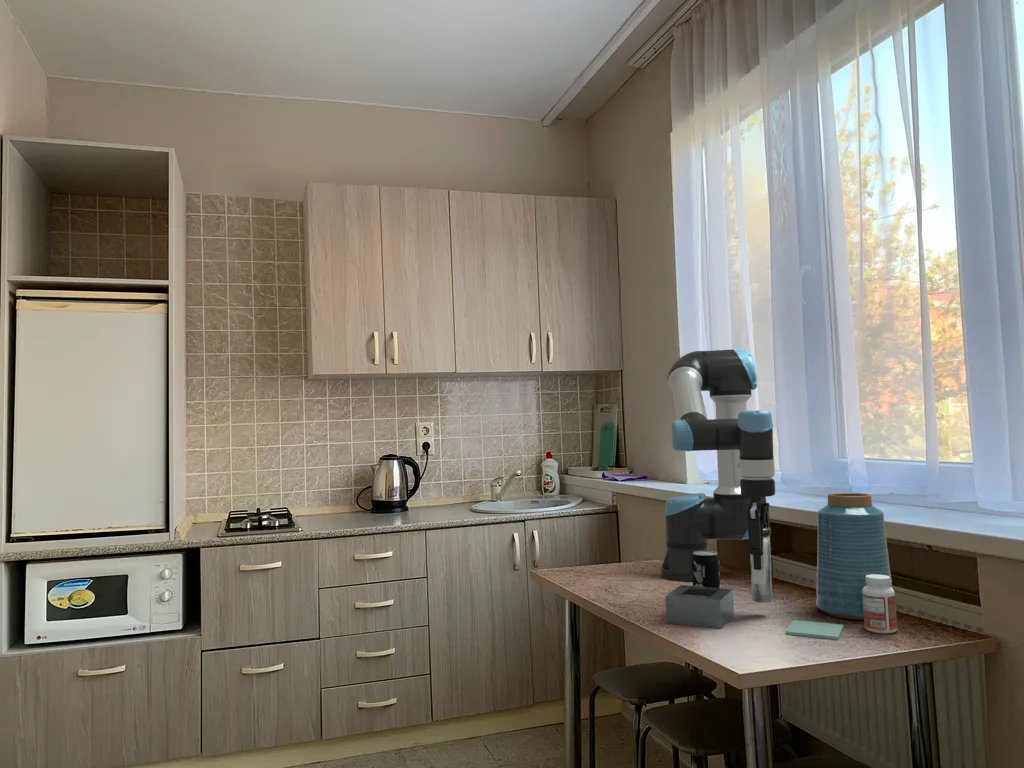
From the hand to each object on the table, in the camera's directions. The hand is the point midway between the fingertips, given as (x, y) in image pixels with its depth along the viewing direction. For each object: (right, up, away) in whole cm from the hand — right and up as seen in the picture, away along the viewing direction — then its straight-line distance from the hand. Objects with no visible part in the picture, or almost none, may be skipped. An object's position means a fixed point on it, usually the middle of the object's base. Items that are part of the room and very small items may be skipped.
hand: (761, 581), depth 172 cm
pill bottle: (+20, -7, -14) cm, 26 cm away
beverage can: (-9, -9, +14) cm, 19 cm away
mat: (+7, -7, -14) cm, 17 cm away
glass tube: (0, -4, 0) cm, 4 cm away
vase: (+22, -8, +1) cm, 23 cm away
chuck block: (-14, -8, -2) cm, 16 cm away
